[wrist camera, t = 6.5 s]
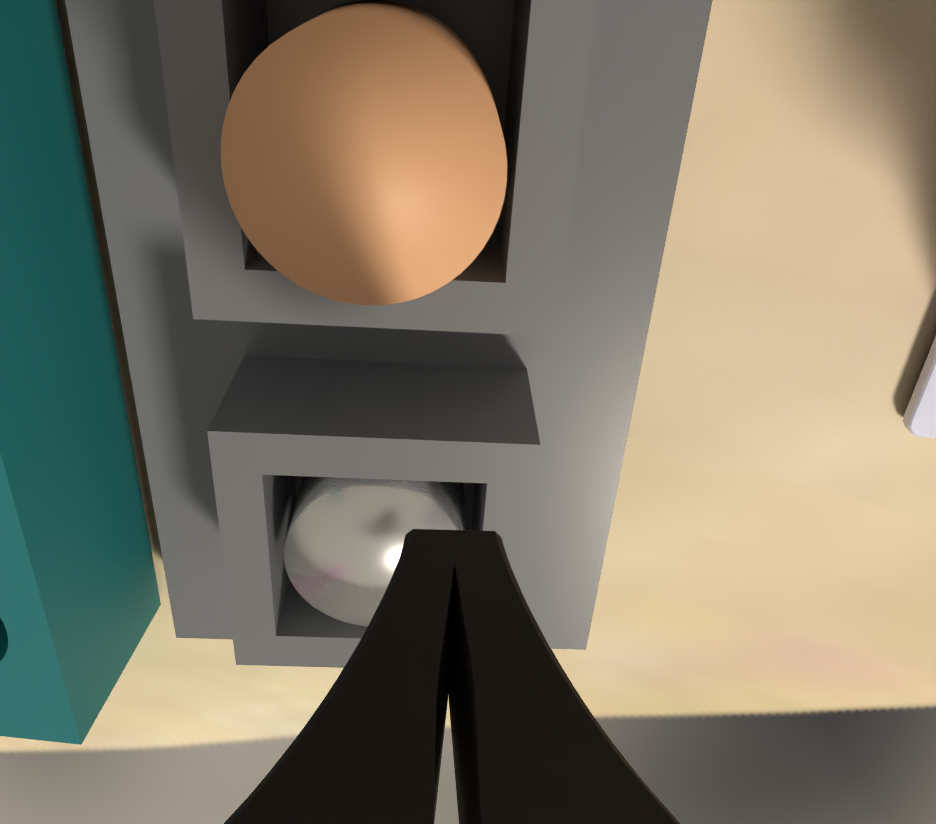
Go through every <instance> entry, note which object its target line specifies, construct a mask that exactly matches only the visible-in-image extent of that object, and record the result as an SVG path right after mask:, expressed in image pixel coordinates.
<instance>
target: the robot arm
mask: <svg viewBox="0 0 936 824" xmlns="http://www.w3.org/2000/svg"><path fill="white" fill-rule="evenodd" d="M903 422H904V425H905V427H906V428H907V429H908V430H909V431H910V432H911V433H912V434H913V435H914V436H918V437H929V438H936V336H935V339H934V341H933V344H932V346H931V349H930V351H929V354H928V356H927V359H926V361H925V364H924V366H923V369H922V372H921V374H920V377H919V379H918V382H917V384H916V387H915V389H914V392H913V394H912V397H911V399H910V402H909V404H908V407H907V409H906V412H905V414H904V419H903ZM448 694H449V707H450V719H451V731H452V743H453V755H454V765H455V779H456V791H457V801H458V802H457V803H458V814H459V824H680V823H679V822H678V821H677V820H676V818H675V817H674V816H673V815H672V814H671V813H670V812H669V811H668V809H667V808H666V807H665V806H664V805H663V804H662V802H661V801H660V800H659V799H658V798H657V797H656V796H655V794H654V793H653V792H651V790H650V789H649V788H648V786H647V785H646V784H645V783H644V782H643V781H642V780H641V778H640V777H639V776H638V775H637V774H636V772H635V771H634V770H633V769H632V767H631V766H630V765H629V763H628V762H627V761H626V760H625V758H624V757H623V756H622V754H621V753H620V752H619V750H618V749H617V748H616V747H615V745H614V744H613V743H612V741H611V740H610V739H609V738H608V736H607V735H606V733H605V732H604V730H603V729H602V728H601V726H600V725H599V723H598V722H597V721H596V719H595V718H594V716H593V715H592V714H591V712H590V711H589V709H588V708H587V706H586V705H585V703H584V702H583V700H582V699H581V697H580V696H579V694H578V693H577V691H576V690H575V688H574V686H573V685H572V683H571V682H570V680H569V678H568V677H567V675H566V673H565V672H564V670H563V668H562V667H561V665H560V664H559V662H558V660H557V659H556V657H555V655H554V653H553V652H552V650H551V648H550V646H549V645H548V643H547V641H546V639H545V637H544V635H543V633H542V631H541V629H540V628H539V626H538V624H537V622H536V620H535V618H534V616H533V614H532V612H531V610H530V608H529V606H528V604H527V602H526V600H525V598H524V596H523V594H522V591H521V589H520V587H519V585H518V582H517V580H516V578H515V575H514V573H513V570H512V568H511V565H510V563H509V560H508V557H507V554H506V551H505V548H504V545H503V541H502V537H501V536H499V535H498V534H497V533H496V532H495V531H476V530H437V529H412V530H411V531H410V532H408V533H407V534H406V535H405V539H404V544H403V548H402V551H401V554H400V557H399V560H398V563H397V565H396V568H395V570H394V573H393V575H392V578H391V580H390V582H389V585H388V587H387V589H386V591H385V594H384V596H383V598H382V600H381V602H380V604H379V606H378V608H377V610H376V612H375V614H374V616H373V618H372V620H371V621H370V623H369V625H368V627H367V629H366V631H365V633H364V635H363V637H362V638H361V640H360V642H359V643H358V645H357V647H356V649H355V650H354V652H353V654H352V655H351V657H350V659H349V660H348V662H347V664H346V665H345V667H344V669H343V670H342V672H341V674H340V675H339V677H338V679H337V680H336V682H335V683H334V685H333V686H332V688H331V689H330V691H329V692H328V694H327V695H326V697H325V698H324V700H323V701H322V703H321V704H320V706H319V707H318V709H317V710H316V711H315V713H314V714H313V716H312V717H311V718H310V720H309V721H308V723H307V724H306V725H305V727H304V728H303V730H302V731H301V732H300V734H299V735H298V736H297V738H296V739H295V740H294V741H293V743H292V744H291V745H290V746H289V748H288V749H287V750H286V752H285V753H284V754H283V755H282V757H281V758H280V759H279V760H278V762H277V763H276V764H275V766H274V767H273V768H272V769H271V771H270V772H269V773H268V774H267V775H266V777H265V778H264V779H263V780H262V781H261V783H260V784H259V785H258V786H257V787H256V789H255V790H254V791H253V792H252V793H251V794H250V795H249V797H248V798H247V799H246V800H245V801H244V802H243V803H242V804H241V805H240V806H239V808H238V809H237V810H236V811H235V812H234V813H233V814H232V815H231V816H230V817H229V818H228V820H227V821H226V822H225V823H224V824H434V819H435V810H436V800H437V792H438V783H439V774H440V765H441V756H442V747H443V738H444V729H445V720H446V711H447V701H448Z"/></svg>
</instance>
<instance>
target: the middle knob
mask: <svg viewBox="0 0 936 824" xmlns="http://www.w3.org/2000/svg"><path fill="white" fill-rule="evenodd" d="M221 168H222V174H223V180H224V185H225V189H226V192H227V196H228V199H229V203H230V205H231V207H232V210H233V212H234V214H235V217H236V219H237V221H238V223H239V224H240V226H241V228H242V229H243V231H244V233H245V235H246V236H247V238H248V239H249V240H250V242H251V243H252V244H253V246H254V247H255V248H256V250H257V251H258V252H259V253H260V254H261V255H262V256H263V257H264V258H265V259H266V260H267V261H268V262H269V264H270V265H272V266H273V267H274V268H275V269H276V270H278V271H279V272H280V273H281V274H282V275H284V276H285V277H287V278H288V279H290V280H291V281H293V282H294V283H296V284H297V285H299V286H301V287H303V288H305V289H307V290H309V291H311V292H313V293H315V294H317V295H320V296H323V297H326V298H329V299H331V300H335V301H340V302H344V303H348V304H357V305H389V304H396V303H402V302H405V301H409V300H413V299H417V298H419V297H422V296H424V295H427V294H429V293H431V292H433V291H435V290H437V289H439V288H440V287H442V286H444V285H446V284H447V283H449V282H450V281H451V280H453V279H454V278H455V277H457V276H458V275H459V274H461V273H462V272H463V271H464V270H465V269H466V268H467V267H468V266H469V265H470V264H471V263H472V262H473V261H474V259H475V258H476V257H477V256H478V254H479V253H480V252H481V251H482V249H483V248H484V246H485V245H486V243H487V241H488V240H489V238H490V236H491V235H492V233H493V230H494V228H495V226H496V223H497V221H498V219H499V216H500V213H501V209H502V206H503V202H504V198H505V191H506V184H507V156H506V146H505V141H504V137H503V133H502V128H501V124H500V121H499V117H498V113H497V110H496V106H495V102H494V99H493V95H492V91H491V88H490V85H489V83H488V80H487V77H486V75H485V73H484V71H483V69H482V67H481V65H480V63H479V61H478V59H477V58H476V57H475V55H474V54H473V52H472V51H471V50H470V48H469V47H468V45H467V44H466V43H465V42H464V41H463V40H462V39H461V38H460V37H459V36H458V34H457V33H455V32H454V31H453V30H452V29H451V28H449V27H448V26H447V25H446V24H445V23H443V22H442V21H440V20H439V19H437V18H435V17H434V16H432V15H431V14H429V13H427V12H425V11H422V10H420V9H418V8H416V7H413V6H410V5H406V4H403V3H399V2H394V1H387V0H362V1H355V2H349V3H346V4H343V5H340V6H336V7H333V8H331V9H329V10H327V11H325V12H323V13H321V14H319V15H317V16H316V17H314V18H312V19H311V20H309V21H307V22H305V23H304V24H302V25H300V26H299V27H297V28H295V29H293V30H292V31H290V32H288V33H287V34H285V35H284V36H282V37H281V38H279V39H278V40H276V41H275V42H273V43H272V44H271V45H269V46H268V47H267V48H266V49H265V50H264V51H263V52H262V53H261V54H260V55H259V56H258V57H257V58H256V59H255V60H254V61H253V63H252V64H251V65H250V66H249V68H248V69H247V70H246V71H245V73H244V74H243V76H242V78H241V79H240V81H239V83H238V85H237V86H236V88H235V90H234V92H233V95H232V97H231V100H230V102H229V105H228V107H227V111H226V115H225V119H224V123H223V128H222V137H221Z"/></svg>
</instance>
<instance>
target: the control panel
mask: <svg viewBox="0 0 936 824" xmlns="http://www.w3.org/2000/svg"><path fill="white" fill-rule="evenodd" d="M355 1H362V0H65V4H66V10H67V16H68V21H69V27H70V33H71V38H72V44H73V50H74V56H75V61H76V67H77V73H78V78H79V84H80V90H81V96H82V101H83V107H84V113H85V118H86V124H87V130H88V136H89V141H90V147H91V153H92V158H93V164H94V170H95V176H96V181H97V187H98V193H99V198H100V204H101V210H102V216H103V221H104V227H105V233H106V238H107V244H108V250H109V256H110V261H111V267H112V273H113V278H114V284H115V290H116V296H117V301H118V307H119V313H120V318H121V324H122V330H123V336H124V341H125V347H126V353H127V358H128V364H129V370H130V376H131V381H132V387H133V393H134V398H135V404H136V410H137V416H138V421H139V427H140V433H141V438H142V444H143V450H144V456H145V461H146V467H147V473H148V478H149V484H150V490H151V496H152V501H153V507H154V513H155V518H156V524H157V530H158V536H159V541H160V547H161V553H162V558H163V564H164V570H165V576H166V581H167V587H168V593H169V598H170V604H171V610H172V616H173V621H174V627H175V633H176V638H207V639H233V643H234V651H235V659H236V665H268V666H304V667H340V668H344V667H345V665H346V664H347V662H348V660H349V659H350V657H351V655H352V654H353V652H354V650H355V649H356V647H357V645H358V643H359V642H360V640H361V638H362V637H363V635H364V633H365V631H366V629H367V627H368V626H361V625H355V624H350V623H347V622H343V621H340V620H338V619H335V618H332V617H330V616H328V615H326V614H324V613H322V612H321V611H319V610H318V609H316V608H315V607H313V606H312V605H311V604H309V603H308V602H307V601H306V600H305V599H304V598H303V597H302V596H301V595H300V594H299V593H298V591H297V590H296V589H295V587H294V586H293V584H292V582H291V580H290V579H289V577H288V574H287V571H286V568H285V562H284V548H285V542H286V538H287V534H288V531H289V527H290V523H291V520H292V516H293V512H294V509H295V505H296V501H297V498H298V494H299V490H300V487H301V483H302V479H303V476H310V477H335V478H361V479H387V480H412V481H438V482H463V483H464V506H465V530H476V531H495V532H496V533H497V534H498V535H499V536H501V537H502V541H503V545H504V548H505V551H506V554H507V557H508V560H509V563H510V565H511V568H512V570H513V573H514V575H515V578H516V580H517V582H518V585H519V587H520V589H521V591H522V594H523V596H524V598H525V600H526V602H527V604H528V606H529V608H530V610H531V612H532V614H533V616H534V618H535V620H536V622H537V624H538V626H539V628H540V629H541V631H542V633H543V635H544V637H545V639H546V641H547V643H548V645H549V646H550V648H551V649H586V646H587V641H588V636H589V631H590V626H591V621H592V615H593V610H594V605H595V600H596V595H597V590H598V585H599V580H600V574H601V569H602V564H603V559H604V554H605V549H606V544H607V538H608V533H609V528H610V523H611V518H612V513H613V508H614V503H615V497H616V492H617V487H618V482H619V477H620V472H621V467H622V462H623V456H624V451H625V446H626V441H627V436H628V431H629V426H630V420H631V415H632V410H633V405H634V400H635V395H636V390H637V385H638V379H639V374H640V369H641V364H642V359H643V354H644V349H645V344H646V338H647V333H648V328H649V323H650V318H651V313H652V308H653V303H654V297H655V292H656V287H657V282H658V277H659V272H660V267H661V261H662V256H663V251H664V246H665V241H666V236H667V231H668V226H669V220H670V215H671V210H672V205H673V200H674V195H675V190H676V185H677V179H678V174H679V169H680V164H681V159H682V154H683V149H684V143H685V138H686V133H687V128H688V123H689V118H690V113H691V108H692V102H693V97H694V92H695V87H696V82H697V77H698V72H699V67H700V61H701V56H702V51H703V46H704V41H705V36H706V31H707V26H708V20H709V15H710V10H711V5H712V0H387V1H394V2H399V3H403V4H406V5H410V6H413V7H416V8H418V9H420V10H422V11H425V12H427V13H429V14H431V15H432V16H434V17H435V18H437V19H439V20H440V21H442V22H443V23H445V24H446V25H447V26H448V27H449V28H451V29H452V30H453V31H454V32H455V33H457V34H458V36H459V37H460V38H461V39H462V40H463V41H464V42H465V43H466V44H467V45H468V47H469V48H470V50H471V51H472V52H473V54H474V55H475V57H476V58H477V59H478V61H479V63H480V65H481V67H482V69H483V71H484V73H485V75H486V77H487V80H488V83H489V85H490V88H491V91H492V95H493V99H494V102H495V106H496V110H497V113H498V117H499V121H500V124H501V128H502V133H503V137H504V141H505V146H506V156H507V184H506V191H505V198H504V202H503V206H502V209H501V213H500V216H499V219H498V221H497V223H496V226H495V228H494V230H493V233H492V235H491V236H490V238H489V240H488V241H487V243H486V245H485V246H484V248H483V249H482V251H481V252H480V253H479V254H478V256H477V257H476V258H475V259H474V261H473V262H472V263H471V264H470V265H469V266H468V267H467V268H466V269H465V270H464V271H463V272H462V273H461V274H459V275H458V276H457V277H455V278H454V279H453V280H451V281H450V282H449V283H447V284H446V285H444V286H442V287H440V288H439V289H437V290H435V291H433V292H431V293H429V294H427V295H424V296H422V297H419V298H417V299H413V300H409V301H405V302H402V303H396V304H389V305H357V304H348V303H344V302H340V301H335V300H331V299H329V298H326V297H323V296H320V295H317V294H315V293H313V292H311V291H309V290H307V289H305V288H303V287H301V286H299V285H297V284H296V283H294V282H293V281H291V280H290V279H288V278H287V277H285V276H284V275H282V274H281V273H280V272H279V271H278V270H276V269H275V268H274V267H273V266H272V265H270V264H269V262H268V261H267V260H266V259H265V258H264V257H263V256H262V255H261V254H260V253H259V252H258V251H257V250H256V248H255V247H254V246H253V244H252V243H251V242H250V240H249V239H248V238H247V236H246V235H245V233H244V231H243V229H242V228H241V226H240V224H239V223H238V221H237V219H236V217H235V214H234V212H233V210H232V207H231V205H230V203H229V199H228V196H227V192H226V189H225V185H224V180H223V174H222V168H221V137H222V128H223V123H224V119H225V115H226V111H227V107H228V105H229V102H230V100H231V97H232V95H233V92H234V90H235V88H236V86H237V85H238V83H239V81H240V79H241V78H242V76H243V74H244V73H245V71H246V70H247V69H248V68H249V66H250V65H251V64H252V63H253V61H254V60H255V59H256V58H257V57H258V56H259V55H260V54H261V53H262V52H263V51H264V50H265V49H266V48H267V47H268V46H269V45H271V44H272V43H273V42H275V41H276V40H278V39H279V38H281V37H282V36H284V35H285V34H287V33H288V32H290V31H292V30H293V29H295V28H297V27H299V26H300V25H302V24H304V23H305V22H307V21H309V20H311V19H312V18H314V17H316V16H317V15H319V14H321V13H323V12H325V11H327V10H329V9H331V8H333V7H336V6H340V5H343V4H346V3H349V2H355Z"/></svg>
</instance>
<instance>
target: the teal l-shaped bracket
mask: <svg viewBox="0 0 936 824" xmlns="http://www.w3.org/2000/svg"><path fill="white" fill-rule="evenodd" d="M160 605H161V603H160V598H159V592H158V586H157V580H156V575H155V569H154V563H153V557H152V552H151V546H150V540H149V534H148V529H147V523H146V517H145V511H144V506H143V500H142V494H141V488H140V483H139V477H138V471H137V465H136V459H135V454H134V448H133V442H132V436H131V431H130V425H129V419H128V413H127V408H126V402H125V396H124V390H123V385H122V379H121V373H120V367H119V362H118V356H117V350H116V344H115V339H114V333H113V327H112V321H111V316H110V310H109V304H108V298H107V293H106V287H105V281H104V275H103V270H102V264H101V258H100V252H99V247H98V241H97V235H96V229H95V224H94V218H93V212H92V206H91V201H90V195H89V189H88V183H87V178H86V172H85V166H84V160H83V155H82V149H81V143H80V137H79V132H78V126H77V120H76V114H75V109H74V103H73V97H72V91H71V86H70V80H69V74H68V68H67V63H66V57H65V51H64V45H63V40H62V34H61V28H60V22H59V17H58V11H57V5H56V0H0V736H7V737H16V738H25V739H35V740H44V741H53V742H62V743H71V744H82V742H83V741H84V739H85V737H86V735H87V734H88V732H89V730H90V728H91V726H92V725H93V723H94V721H95V719H96V718H97V716H98V714H99V712H100V711H101V709H102V707H103V705H104V704H105V702H106V700H107V698H108V696H109V695H110V693H111V691H112V689H113V688H114V686H115V684H116V682H117V681H118V679H119V677H120V675H121V673H122V672H123V670H124V668H125V666H126V665H127V663H128V661H129V659H130V658H131V656H132V654H133V652H134V651H135V649H136V647H137V645H138V643H139V642H140V640H141V638H142V636H143V635H144V633H145V631H146V629H147V628H148V626H149V624H150V622H151V620H152V619H153V617H154V615H155V613H156V612H157V610H158V608H159V606H160Z"/></svg>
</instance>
